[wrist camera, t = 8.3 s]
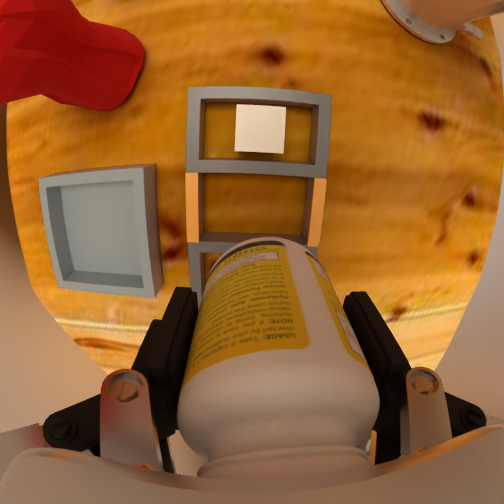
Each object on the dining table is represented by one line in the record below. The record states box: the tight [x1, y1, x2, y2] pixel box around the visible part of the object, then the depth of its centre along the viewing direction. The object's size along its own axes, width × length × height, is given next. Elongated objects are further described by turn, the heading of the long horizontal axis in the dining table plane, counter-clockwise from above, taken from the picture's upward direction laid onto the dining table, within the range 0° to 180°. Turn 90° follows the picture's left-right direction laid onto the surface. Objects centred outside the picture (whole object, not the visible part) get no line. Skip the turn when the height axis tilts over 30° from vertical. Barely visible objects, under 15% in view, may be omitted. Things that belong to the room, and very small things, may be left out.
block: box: [235, 104, 286, 154], centre depth 23 cm, size 4×4×6 cm
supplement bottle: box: [177, 237, 380, 480], centre depth 8 cm, size 5×5×10 cm
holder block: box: [185, 86, 332, 309], centre depth 28 cm, size 13×24×3 cm, turn 178°
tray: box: [38, 164, 164, 298], centre depth 28 cm, size 14×14×4 cm
